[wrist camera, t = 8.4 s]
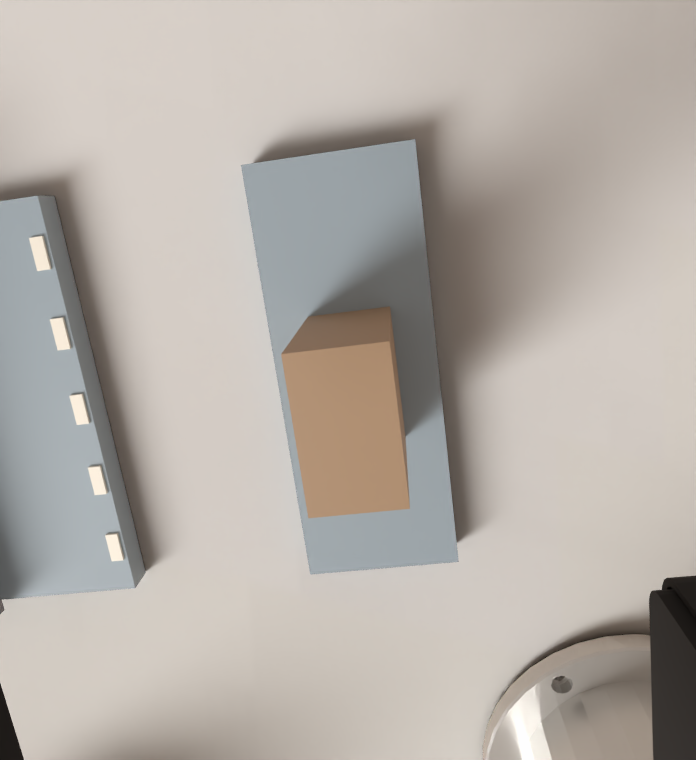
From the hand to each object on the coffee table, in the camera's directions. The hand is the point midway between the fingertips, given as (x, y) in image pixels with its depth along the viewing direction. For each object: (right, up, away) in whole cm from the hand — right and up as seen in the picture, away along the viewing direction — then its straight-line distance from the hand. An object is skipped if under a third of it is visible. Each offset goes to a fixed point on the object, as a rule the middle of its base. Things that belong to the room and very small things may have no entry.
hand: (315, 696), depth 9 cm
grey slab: (+1, +5, +16) cm, 17 cm away
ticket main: (-14, +3, +18) cm, 23 cm away
